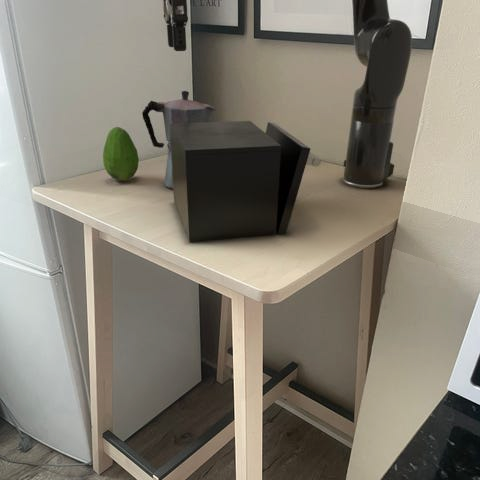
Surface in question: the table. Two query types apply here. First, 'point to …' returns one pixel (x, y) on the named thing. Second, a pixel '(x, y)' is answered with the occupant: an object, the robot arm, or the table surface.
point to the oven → (225, 180)
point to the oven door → (289, 172)
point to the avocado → (120, 155)
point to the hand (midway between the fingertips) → (177, 48)
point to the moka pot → (175, 122)
